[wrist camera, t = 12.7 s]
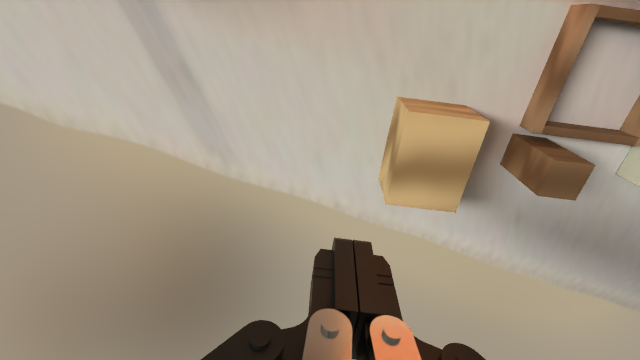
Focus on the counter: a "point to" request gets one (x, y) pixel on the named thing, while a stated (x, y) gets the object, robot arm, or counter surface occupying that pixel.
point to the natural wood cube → (430, 153)
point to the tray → (631, 166)
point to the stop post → (546, 167)
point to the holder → (563, 55)
